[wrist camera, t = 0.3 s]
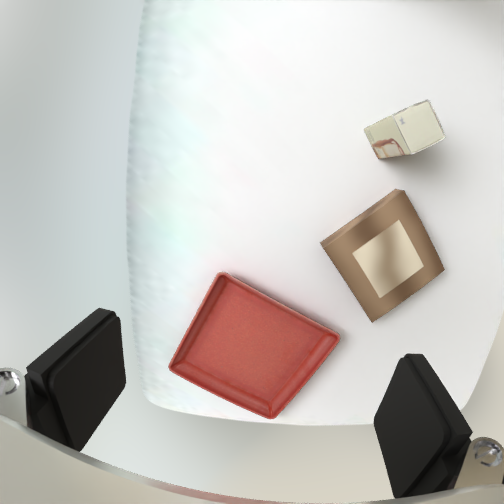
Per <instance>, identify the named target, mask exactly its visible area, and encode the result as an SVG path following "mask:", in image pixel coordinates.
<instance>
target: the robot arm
mask: <svg viewBox="0 0 504 504" xmlns="http://www.w3.org/2000/svg"><path fill="white" fill-rule="evenodd" d="M26 369H27V372H28V373H27V374H26V375H25V376H23V374H22V373H21V372H20V371H18V370H16V369H13V368H1V369H0V504H316V503H288V502H274V501H263V500H253V499H245V498H238V497H231V496H225V495H219V494H214V493H208V492H203V491H199V490H194V489H189V488H185V487H181V486H177V485H173V484H169V483H165V482H162V481H158V480H155V479H151V478H148V477H144V476H141V475H138V474H135V473H132V472H129V471H126V470H123V469H121V468H118V467H115V466H112V465H110V464H107V463H105V462H102V461H99V460H97V459H94V458H92V457H90V456H88V455H85V454H83V453H80V451H81V450H82V449H83V448H84V446H85V444H86V443H87V442H88V440H89V439H90V437H91V436H92V434H93V433H94V431H95V430H96V428H97V427H98V426H99V424H100V423H101V421H102V420H103V418H104V417H105V415H106V414H107V412H108V411H109V409H110V408H111V407H112V405H113V404H114V402H115V401H116V399H117V398H118V397H119V395H120V394H121V392H122V391H123V389H124V387H125V384H126V375H125V367H124V357H123V348H122V335H121V323H120V318H119V317H117V316H116V313H115V312H114V311H110V310H106V309H102V308H98V309H97V310H95V311H94V312H93V313H92V314H90V315H89V316H88V317H87V318H85V319H84V320H83V321H82V322H80V323H79V324H78V325H77V326H75V327H74V328H73V329H72V330H71V331H69V332H68V333H67V334H66V335H65V336H63V337H62V338H61V339H59V340H58V341H57V342H56V343H55V344H54V345H52V346H51V347H50V348H49V349H47V350H46V351H45V352H44V353H43V354H41V355H40V356H39V357H38V358H37V359H36V360H34V361H33V362H32V363H31V364H30V365H29V366H27V367H26ZM374 427H375V431H376V434H377V437H378V441H379V444H380V448H381V451H382V455H383V458H384V462H385V465H386V469H387V473H388V477H389V480H390V484H391V488H392V492H393V495H394V497H395V498H396V499H390V500H382V501H381V500H380V501H370V502H356V503H325V504H504V448H503V447H502V446H501V445H500V444H499V443H498V442H497V441H495V440H493V439H491V438H487V437H479V438H476V439H474V440H473V441H472V442H471V440H470V438H469V437H470V436H471V434H472V433H473V432H472V430H471V429H470V427H469V425H468V423H467V422H466V420H465V419H464V417H463V415H462V414H461V412H460V410H459V409H458V407H457V405H456V404H455V402H454V401H453V399H452V398H451V396H450V394H449V393H448V391H447V390H446V388H445V387H444V385H443V384H442V382H441V380H440V379H439V377H438V376H437V374H436V373H435V371H434V370H433V368H432V367H431V365H430V364H429V363H428V361H427V360H426V358H425V357H424V355H423V354H406V355H405V356H404V358H400V360H399V361H398V364H397V366H396V369H395V371H394V374H393V376H392V379H391V381H390V384H389V386H388V388H387V390H386V393H385V395H384V397H383V400H382V402H381V404H380V406H379V408H378V410H377V412H376V415H375V417H374ZM317 504H319V503H317ZM320 504H322V503H320ZM323 504H324V503H323Z"/></svg>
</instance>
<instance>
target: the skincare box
mask: <svg viewBox="0 0 504 504" xmlns="http://www.w3.org/2000/svg"><path fill="white" fill-rule="evenodd" d="M364 131H365V133H366V135H367V137H368V140H369V142H370V144H371V146H372V148H373V150H374V152H375V154H376V156H377V157H378V159H382V158H389V157H396V156H403V155H412V154H415V153H417V152H419V151H422V150H424V149H426V148H428V147H430V146H432V145H434V144H436V143H438V142H439V141H441V140H443V139H445V138H446V136H445V134H444V132H443V129H442V126H441V124H440V122H439V119H438V117H437V115H436V113H435V111H434V109H433V107H432V105H431V102H430V101H429V100H425V101H422V102H420V103H417V104H414V105H412V106H410V107H407V108H405V109H403V110H401V111H399V112H397V113H395V114H393V115H391V116H389V117H387V118H385V119H383V120H380V121H378V122H376V123H375V124H373V125H371V126H369V127H367V128H365V129H364Z"/></svg>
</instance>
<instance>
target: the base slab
mask: <svg viewBox="0 0 504 504" xmlns="http://www.w3.org/2000/svg"><path fill="white" fill-rule="evenodd" d="M320 243H321V245H322V247H323V249H324V250H325V252H326V253H327V255H328V256H329V257H330V259H331V260H332V262H333V263H334V265H335V266H336V268H337V269H338V271H339V272H340V274H341V275H342V277H343V278H344V280H345V281H346V283H347V285H348V286H349V288H350V289H351V291H352V292H353V294H354V295H355V297H356V298H357V300H358V301H359V303H360V305H361V306H362V308H363V309H364V311H365V313H366V314H367V316H368V317H369V319H370V320H371V322H374V321H375V320H377V319H378V318H380V317H381V316H383V315H384V314H386V313H387V312H389V311H390V310H392V309H393V308H394V307H396V306H397V305H399V304H400V303H401V302H403V301H404V300H406V299H407V298H408V297H410V296H411V295H412V294H414V293H415V292H417V291H418V290H419V289H421V288H422V287H423V286H425V285H426V284H427V283H428V282H430V281H431V280H432V279H434V278H435V277H436V276H438V275H439V274H440V273H441V272H443V271H444V270H445V269H444V267H443V265H442V263H441V261H440V258H439V256H438V254H437V252H436V250H435V248H434V246H433V244H432V242H431V240H430V238H429V236H428V234H427V232H426V230H425V228H424V226H423V224H422V222H421V220H420V218H419V216H418V215H417V213H416V211H415V209H414V207H413V206H412V204H411V202H410V200H409V198H408V197H407V195H406V193H405V191H404V190H397V189H395V190H394V191H392V192H391V193H389V194H388V195H387V196H385V197H384V198H383V199H381V200H380V201H378V202H377V203H376V204H374V205H373V206H371V207H370V208H369V209H367V210H366V211H364V212H363V213H362V214H360V215H359V216H357V217H356V218H355V219H353V220H352V221H350V222H349V223H348V224H346V225H345V226H343V227H342V228H340V229H339V230H338V231H336V232H335V233H333V234H332V235H331V236H329V237H328V238H326V239H325V240H323V241H322V242H320Z"/></svg>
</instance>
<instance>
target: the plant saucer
mask: <svg viewBox="0 0 504 504" xmlns="http://www.w3.org/2000/svg"><path fill="white" fill-rule="evenodd" d="M339 341H340V335H339V334H338V333H336V332H334V331H333V330H331V329H329V328H327V327H325V326H323V325H321V324H319V323H317V322H315V321H313V320H312V319H310V318H308V317H306V316H304V315H302V314H300V313H298V312H296V311H295V310H293V309H291V308H289V307H287V306H285V305H284V304H282V303H280V302H278V301H276V300H274V299H272V298H271V297H269V296H267V295H265V294H263V293H261V292H260V291H258V290H256V289H254V288H252V287H251V286H249V285H247V284H245V283H243V282H242V281H240V280H238V279H236V278H235V277H233V276H231V275H229V274H228V273H226V272H219V273H218V274H217V275H216V277H215V278H214V280H213V282H212V284H211V286H210V288H209V290H208V291H207V293H206V295H205V297H204V299H203V301H202V303H201V305H200V307H199V308H198V310H197V312H196V314H195V316H194V318H193V320H192V322H191V324H190V326H189V327H188V329H187V331H186V333H185V335H184V337H183V339H182V341H181V343H180V344H179V346H178V348H177V350H176V352H175V354H174V356H173V358H172V359H171V362H170V363H169V366H168V367H169V370H170V371H171V372H173V373H174V374H176V375H178V376H180V377H182V378H184V379H185V380H187V381H189V382H191V383H193V384H195V385H197V386H199V387H201V388H202V389H205V390H207V391H209V392H211V393H212V394H215V395H216V396H218V397H221V398H223V399H225V400H227V401H229V402H231V403H233V404H235V405H237V406H240V407H242V408H244V409H246V410H249V411H251V412H253V413H255V414H258V415H260V416H262V417H264V418H267V419H274V418H276V417H277V416H278V414H279V413H280V412H281V411H282V410H283V409H284V408H285V407H286V406H287V405H288V403H289V402H290V401H291V400H292V399H293V398H294V397H295V396H296V394H297V393H298V392H299V391H300V390H301V389H302V387H303V386H304V385H305V384H306V383H307V381H308V380H309V379H310V378H311V377H312V376H313V374H314V373H315V372H316V370H317V369H318V368H319V367H320V366H321V364H322V363H323V362H324V361H325V359H326V358H327V357H328V355H329V354H330V353H331V352H332V350H333V349H334V348H335V347H336V345H337V344H338V342H339Z"/></svg>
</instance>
